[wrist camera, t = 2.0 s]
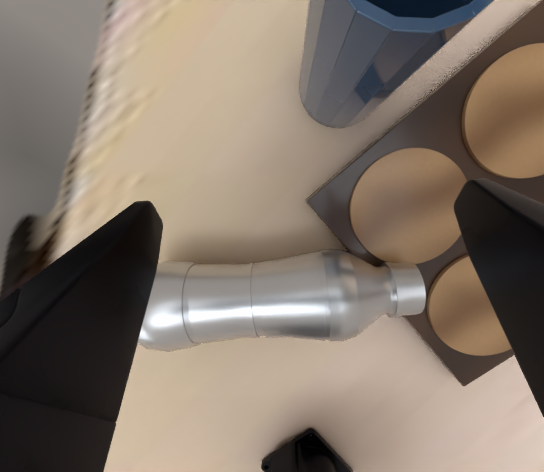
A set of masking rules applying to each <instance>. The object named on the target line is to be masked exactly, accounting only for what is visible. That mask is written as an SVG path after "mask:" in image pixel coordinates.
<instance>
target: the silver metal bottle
mask: <svg viewBox="0 0 544 472" xmlns="http://www.w3.org/2000/svg"><path fill="white" fill-rule="evenodd" d="M425 302H426V292H425V285H424V281H423V278H422V275H421V273H420V271H419V269H418V268H417V266H416V265H415V264H414V263H412V262H399V263H391V262H384V263H381V265H380V267H374V266H372V265H371V264H369V263H367V262H365V261H364V260H362V259H360V258H358V257H356V256H354V255H352V254H350V253H348V252H345V251H341V250H335V249H328V250H321V251H319V252H312V253H307V254H302V255H298V256H293V257H289V258H284V259H278V260H270V261H262V262H261V263H247V264H199V263H193V262H182V261H166V262H162V263H158V265H157V271H156V275H155V279H154V283H153V287H152V290H151V294H150V298H149V302H148V305H147V309H146V313H145V317H144V320H143V324H142V328H141V332H140V335H139V339H138V343H139V344H140V345H142V346H143V347H145V348H146V349H152V350H159V351H167V352H170V351H175V350H181V349H186V348H190V347H193V346H197V345H200V344H201V343H210V342H217V341H224V340H231V339H238V338H249V337H260V336H265V337H289V338H300V339H311V340H323V341H325V340H329V341H345V340H348V339H351V338H354V337H356V336H357V335H359V334H360V333H361V332H363V331H364V330H365V329H367V328H368V327H369V326H370V325H371V324H373V323H374V322H375V321H376V320H377V319H378V318H379V317H380V316H381V315H384V314H387V315H388V316H389V317H390V318H397V317H400V316H404V315H417V314H420V313H422V311H423V310H424V307H425Z"/></svg>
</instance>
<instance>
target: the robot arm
mask: <svg viewBox="0 0 544 472" xmlns="http://www.w3.org/2000/svg"><path fill="white" fill-rule="evenodd" d="M454 213H455V216H456V219H457V222H458V225H459V228H460V231H461V234H462V238H463V241H464V244H465V247H466V250H467V253H468V255H469V258H470V260H471V262H472V264H473V267H474V269H475V271H476V273H477V275H478V277H479V280H480V282H481V284H482V286H483V288H484V290H485V292H486V295H487V297H488V299H489V301H490V303H491V305H492V307H493V310H494V312H495V314H496V316H497V318H498V320H499V322H500V325H501V327H502V329H503V331H504V333H505V335H506V338H507V340H508V342H509V344H510V346H511V348H512V350H513V353H514V355H515V357H516V359H517V361H518V363H519V365H520V368H521V370H522V372H523V374H524V376H525V378H526V380H527V383H528V385H529V387H530V389H531V391H532V393H533V396H534V398H535V400H536V402H537V404H538V406H539V408H540V411H541V413H542V415H543V417H544V204H543V203H540V202H538V201H536V200H534V199H531V198H529V197H527V196H525V195H522V194H520V193H518V192H516V191H514V190H511V189H509V188H507V187H505V186H502V185H500V184H498V183H496V182H493V181H491V180H489V179H485V178H480V179H470V180H468V181H467V182H466V183H465V184H464V186H463V188H462V189H461V191H460V193H459V195H458V196H457V198H456V200H455V202H454ZM162 231H163V223H162V220H161V218H160V216H159V214H158V213H157V211H156V209H155V207H154V205H153V204H152V203H151V202H150V201H137V202H134V203H133V204H132V205H130V206H129V207H127V208H126V209H125V210H123V211H122V212H121V213H119V214H118V215H117V216H115V217H114V218H113V219H111V220H110V221H109V222H107V223H106V224H104V225H103V226H102V227H100V228H99V229H98V230H96V231H95V232H94V233H92V234H91V235H90V236H88V237H87V238H86V239H84V240H83V241H81V242H80V243H79V244H77V245H76V246H75V247H73V248H72V249H71V250H69V251H68V252H67V253H65V254H64V255H63V256H61V257H60V258H58V259H57V260H56V261H54V262H53V263H52V264H50V265H49V266H48V267H46V268H45V269H44V270H42V271H41V272H40V273H38V274H37V275H36V276H34V277H33V278H31V279H30V280H29V281H27V282H26V283H25V284H23V285H22V286H21V288H19V289H16V290H15V291H14V292H12V293H11V294H10V295H8V296H7V297H6V298H4V299H3V300H2V301H0V472H103V471H104V467H105V463H106V460H107V456H108V452H109V448H110V445H111V441H112V437H113V434H114V430H115V426H116V423H115V422H116V421H117V418H118V414H119V410H120V406H121V403H122V399H123V395H124V391H125V388H126V384H127V380H128V377H129V373H130V369H131V365H132V362H133V358H134V354H135V350H136V347H137V343H138V339H139V335H140V332H141V328H142V324H143V320H144V317H145V313H146V309H147V305H148V302H149V298H150V294H151V290H152V287H153V283H154V279H155V275H156V271H157V265H158V259H159V252H160V245H161V238H162ZM310 435H312V436H310ZM261 468H262V470H263V471H264V472H353V470H352V469H351V468H350V467H349V466H348V465H347V464H346V463H345V462H344V461H343V460H342V458H341V457H340V456H339V455H338V454H337V453H336V452H335V451H334V450H333V449H332V448H331V447H330V446H329V445H328V444H327V443H326V442H325V440H324V439H323V438H322V437H321V436H320V435H319V434H318V433H317V432H316V431H315V430H314V429H308V430H306V431H305V432H303V433H302V434H300V435H299V436H297V437H296V438H295V439H293V440H292V441H290V442H289V443H287V444H286V445H284V446H283V447H281V448H280V449H278V450H277V451H275V452H274V453H272V454H271V455H269V456H268V457H266V458H265V459H263V460H262V464H261Z"/></svg>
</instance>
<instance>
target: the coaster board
mask: <svg viewBox="0 0 544 472" xmlns="http://www.w3.org/2000/svg"><path fill="white" fill-rule="evenodd" d="M480 178H485V179H489V180H491V181H493V182H496V183H498V184H500V185H502V186H505V187H507V188H509V189H511V190H514V191H516V192H518V193H520V194H522V195H525V196H527V197H529V198H531V199H534V200H536V201H538V202H540V203H543V204H544V0H540V1H539V2H538V3H536V4H535V5H534V6H532V7H531V8H530V9H529V10H528V11H527V12H525V13H524V14H523V15H522V16H521V17H520V18H518V19H517V20H516V21H515V22H514V23H512V24H511V25H510V26H509V27H508V28H507V29H505V30H504V31H503V32H502V33H501V34H500V35H498V36H497V37H496V38H495V39H494V40H493V41H491V42H490V43H489V44H488V45H487V46H486V47H484V48H483V49H482V50H481V51H480V52H479V53H477V54H476V55H475V56H474V57H473V58H471V59H470V60H469V61H468V62H467V63H466V64H464V65H463V66H462V67H461V68H460V69H459V70H457V71H456V72H455V73H454V74H453V75H452V76H450V77H449V78H448V79H447V80H446V81H445V82H443V83H442V84H441V85H440V86H439V87H438V88H436V89H435V90H434V91H433V92H432V93H430V94H429V95H428V96H427V97H426V98H425V99H423V100H422V101H421V102H420V103H419V104H418V105H416V106H415V107H414V108H413V109H412V110H411V111H409V112H408V113H407V114H406V115H405V116H404V117H402V118H401V119H400V120H399V121H398V122H397V123H395V124H394V125H393V126H392V127H391V128H389V129H388V130H387V131H386V132H385V133H384V134H382V135H381V136H380V137H379V138H378V139H377V140H375V141H374V142H373V143H372V144H371V145H370V146H368V147H367V148H366V149H365V150H364V151H363V152H361V153H360V154H359V155H358V156H357V157H356V158H354V159H353V160H352V161H351V162H350V163H348V164H347V165H346V166H345V167H344V168H343V169H341V170H340V171H339V172H338V173H337V174H336V175H334V176H333V177H332V178H331V179H330V180H329V181H327V182H326V183H325V184H324V185H323V186H322V187H320V188H319V189H318V190H317V191H316V192H315V193H313V194H312V195H311V196H310V197H309V198H307V199H306V201H307V203H308V204H309V205H310V206H311V207H312V208H313V210H314V211H315V212H316V213H317V214H318V216H319V217H320V218H321V219H322V220H323V221H324V223H325V224H326V225H327V226H328V227H329V229H330V230H331V231H332V232H333V233H334V235H335V236H336V237H337V238H338V239H339V240H340V242H341V243H342V244H343V245H344V246H345V248H346V249H347V250H348V251H349V252H350V253H351V254H352V255H354V256H356V257H358V258H360V259H362V260H364V261H365V262H367V263H369V264H371V265H372V266H374V267H380V265H381V263H384V262H391V263H399V262H412V263H414V264H415V265H416V266H417V268H418V269H419V271H420V273H421V275H422V278H423V281H424V285H425V292H426V302H425V307H424V310H423V311H422V313H420V314H417V315H404V317H405V319H406V320H407V321H408V322H409V323H410V325H411V326H412V327H413V328H414V329H415V331H416V332H417V333H418V334H419V335H420V336H421V338H422V339H423V340H424V341H425V342H426V344H427V345H428V346H429V347H430V348H431V349H432V351H433V352H434V353H435V354H436V355H437V357H438V358H439V359H440V360H441V361H442V363H443V364H444V365H445V366H446V367H447V368H448V370H449V371H450V372H451V373H452V374H453V376H454V377H455V378H456V379H457V380H458V381H459V382H460V383H461V384H462V386H466V385H467V384H469V383H470V382H472V381H474V380H475V379H477V378H478V377H480V376H482V375H483V374H485V373H486V372H488V371H489V370H491V369H493V368H494V367H496V366H497V365H499V364H501V363H502V362H504V361H505V360H507V359H508V358H510V357H512V356H513V355H514V353H513V350H512V348H511V346H510V344H509V342H508V340H507V338H506V335H505V333H504V331H503V329H502V327H501V325H500V322H499V320H498V318H497V316H496V314H495V312H494V310H493V307H492V305H491V303H490V301H489V299H488V297H487V295H486V292H485V290H484V288H483V286H482V284H481V282H480V280H479V277H478V275H477V273H476V271H475V269H474V267H473V264H472V262H471V260H470V258H469V255H468V253H467V250H466V247H465V244H464V241H463V238H462V234H461V231H460V228H459V225H458V222H457V219H456V216H455V213H454V202H455V200H456V198H457V196H458V195H459V193H460V191H461V189H462V188H463V186H464V184H465V183H466V182H467V181H468V180H470V179H480Z"/></svg>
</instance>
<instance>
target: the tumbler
mask: <svg viewBox="0 0 544 472" xmlns="http://www.w3.org/2000/svg"><path fill="white" fill-rule="evenodd" d="M493 1H494V0H309V2H308V11H307V19H306V28H305V37H304V45H303V54H302V63H301V72H300V83H299V90H300V97H301V100H302V103H303V106H304V108H305V109H306V111H307V112H308V114H309V115H310V116H311V117H312V118H313V119H314V120H315V121H317V122H318V123H320V124H322V125H325V126H328V127H332V128H344V127H349V126H352V125H354V124H356V123H358V122H360V121H361V120H363V119H364V118H365V117H366V116H368V115H369V114H370V113H371V112H372V111H373V110H374V109H375V108H377V107H378V106H379V105H380V104H381V103H382V102H383V101H384V100H385V99H386V98H388V97H389V96H390V95H391V94H392V93H393V92H394V91H395V90H396V89H397V88H399V87H400V86H401V85H402V84H403V83H404V82H405V81H406V80H407V79H409V78H410V77H411V76H412V75H413V74H414V73H415V72H416V71H417V70H418V69H420V68H421V67H422V66H423V65H424V64H425V63H426V62H427V61H428V60H429V59H431V58H432V57H433V56H434V55H435V54H436V53H437V52H438V51H439V50H440V49H442V48H443V47H444V46H445V45H446V44H447V43H448V42H449V41H450V40H451V39H453V38H454V37H455V36H456V35H457V34H458V33H459V32H460V31H461V30H462V29H464V28H465V27H466V26H467V25H468V24H469V23H470V22H471V21H472V20H474V19H475V18H476V17H477V16H478V15H479V14H480V13H481V12H482V11H483V10H485V9H486V8H487V7H488V6H489V5H490V4H491V3H492V2H493Z"/></svg>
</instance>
